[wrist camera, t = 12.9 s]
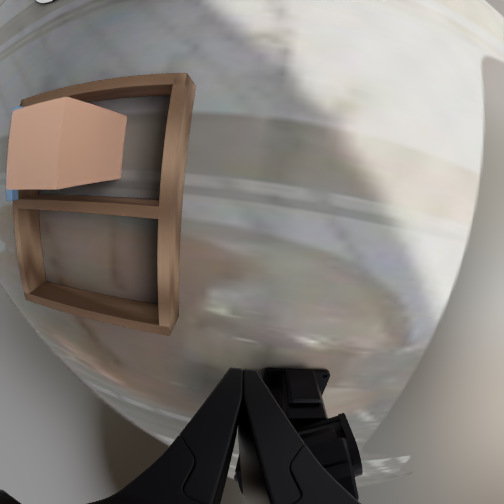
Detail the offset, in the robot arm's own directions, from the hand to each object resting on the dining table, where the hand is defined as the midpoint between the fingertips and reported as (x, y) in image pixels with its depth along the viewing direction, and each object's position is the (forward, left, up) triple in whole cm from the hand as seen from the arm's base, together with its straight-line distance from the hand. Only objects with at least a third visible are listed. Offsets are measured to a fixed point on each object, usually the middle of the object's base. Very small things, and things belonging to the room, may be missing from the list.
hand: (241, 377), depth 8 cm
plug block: (+7, +13, -13) cm, 20 cm away
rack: (+3, +13, -13) cm, 19 cm away
